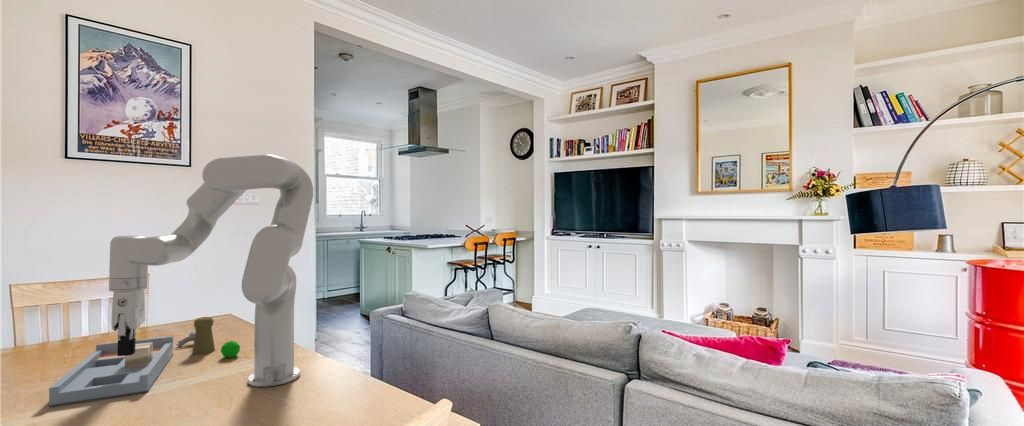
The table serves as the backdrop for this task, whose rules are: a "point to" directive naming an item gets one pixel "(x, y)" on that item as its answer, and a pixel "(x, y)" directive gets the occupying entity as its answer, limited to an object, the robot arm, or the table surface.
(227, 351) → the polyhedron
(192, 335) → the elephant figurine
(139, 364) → the maple block
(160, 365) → the box
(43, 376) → the table surface
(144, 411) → the table surface
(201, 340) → the cork
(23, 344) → the table surface
